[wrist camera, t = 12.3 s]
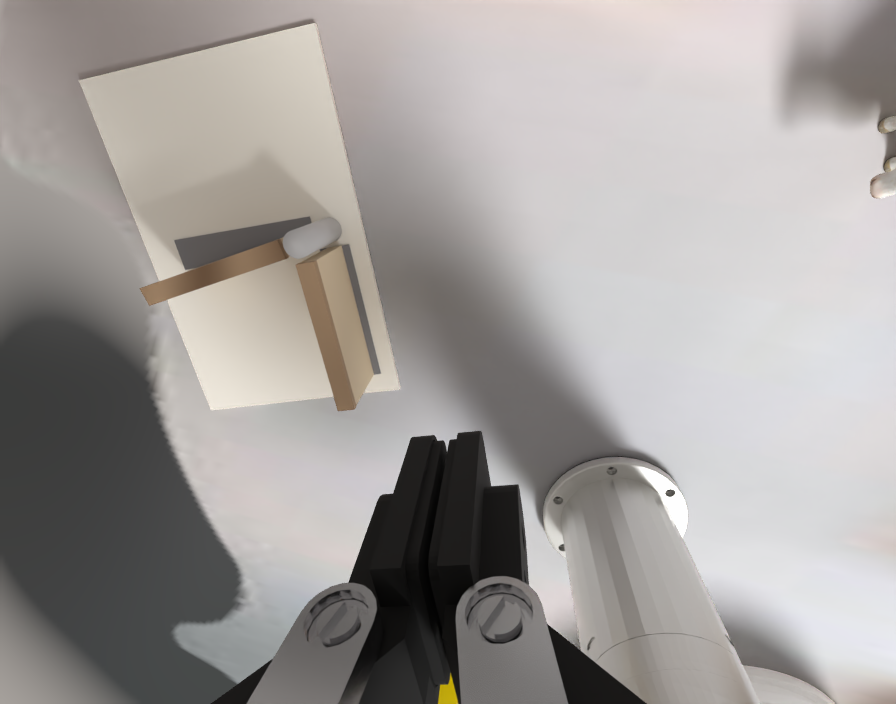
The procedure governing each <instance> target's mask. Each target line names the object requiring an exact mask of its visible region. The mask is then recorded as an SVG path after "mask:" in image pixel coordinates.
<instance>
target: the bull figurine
mask: <svg viewBox="0 0 896 704" xmlns="http://www.w3.org/2000/svg"><path fill="white" fill-rule="evenodd" d="M878 129H879V132H881V133H888V132H891V131H895V130H896V115H895V116H892V117H888V118H885V119H883V120H882V121H881V122H880V124H879V126H878ZM884 170H885V172H887V173H882V174H879V175H877V176H875V177H873V178H872V179H871V182H870V193H871V195H872V197H874V198H876V199H881V198H884V197H888V196H891V195H895V194H896V157H892V158H890V159H888V160H887V161H886V163H885V165H884Z"/></svg>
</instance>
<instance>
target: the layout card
mask: <svg viewBox="0 0 896 704" xmlns="http://www.w3.org/2000/svg"><path fill="white" fill-rule="evenodd" d="M79 82H80V85H81V87H82V90H83V92H84V95H85V97H86V100H87V102H88V105H89V107H90V110H91V112H92V115H93V117H94V120H95V122H96V125H97V127H98V130H99V132H100V135H101V137H102V140H103V142H104V145H105V147H106V150H107V152H108V155H109V157H110V160H111V162H112V165H113V167H114V170H115V172H116V175H117V177H118V180H119V182H120V185H121V187H122V190H123V192H124V195H125V197H126V200H127V202H128V205H129V207H130V210H131V212H132V215H133V217H134V220H135V222H136V224H137V227H138V229H139V232H140V234H141V237H142V239H143V242H144V244H145V247H146V249H147V252H148V254H149V257H150V259H151V262H152V264H153V267H154V269H155V272H156V274H157V277H158V279H159V281H162V280H165V279H168V278H170V277H173V276H176V275H179V274H182V273H184V272H187V271H190V270H193V269H195V268H198V267H201V266H204V265H207V264H210V263H212V262H215V261H218V260H221V259H224V258H227V257H229V256H232V255H235V254H238V253H241V252H244V251H246V250H249V249H252V248H255V247H258V246H261V245H263V244H266V243H269V242H272V241H275V240H277V239H280V238H283V237H284V238H283V247H284V249H285V251H286V253H287V254H288V255H289V258H287V259H285V260H282V261H279V262H276V263H273V264H270V265H267V266H264V267H261V268H258V269H255V270H253V271H250V272H247V273H244V274H241V275H238V276H235V277H232V278H229V279H226V280H223V281H220V282H217V283H215V284H212V285H209V286H206V287H203V288H200V289H197V290H194V291H191V292H188V293H185V294H182V295H179V296H177V297H174V298H171V299H168V300H167V302H168V304H169V307H170V309H171V312H172V314H173V317H174V319H175V322H176V324H177V327H178V329H179V332H180V334H181V337H182V339H183V342H184V344H185V347H186V349H187V352H188V354H189V357H190V359H191V362H192V364H193V367H194V369H195V372H196V374H197V377H198V379H199V382H200V384H201V387H202V389H203V392H204V394H205V397H206V399H207V402H208V404H209V407H210V409H211V410H218V409H227V408H237V407H246V406H255V405H264V404H273V403H282V402H291V401H300V400H309V399H318V398H327V397H334V400H335V403H336V406H337V410H338V411H344V410H354V409H355V408H356V405H357V403H358V402H359V400H360V398H361V396H362V395H363V394H364V393H373V392H382V391H391V390H400V388H401V386H400V382H399V377H398V373H397V369H396V364H395V360H394V356H393V352H392V347H391V343H390V339H389V334H388V330H387V326H386V321H385V317H384V313H383V308H382V304H381V300H380V295H379V291H378V287H377V282H376V278H375V274H374V269H373V265H372V261H371V256H370V252H369V248H368V243H367V239H366V235H365V230H364V226H363V222H362V217H361V213H360V209H359V204H358V200H357V196H356V191H355V187H354V183H353V179H352V174H351V170H350V166H349V161H348V157H347V153H346V148H345V144H344V140H343V135H342V131H341V127H340V122H339V118H338V114H337V109H336V105H335V101H334V96H333V92H332V88H331V83H330V79H329V75H328V70H327V66H326V62H325V57H324V53H323V49H322V44H321V40H320V36H319V31H318V27H317V24H316V23H311V24H307V25H303V26H299V27H295V28H291V29H287V30H283V31H279V32H274V33H270V34H266V35H262V36H258V37H254V38H250V39H246V40H242V41H238V42H234V43H229V44H225V45H221V46H217V47H213V48H209V49H205V50H201V51H197V52H193V53H189V54H184V55H180V56H176V57H172V58H168V59H164V60H160V61H156V62H152V63H148V64H144V65H139V66H135V67H131V68H127V69H123V70H119V71H115V72H111V73H107V74H103V75H98V76H94V77H90V78H86V79H82V80H79Z"/></svg>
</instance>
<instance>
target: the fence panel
mask: <svg viewBox="0 0 896 704" xmlns="http://www.w3.org/2000/svg"><path fill="white" fill-rule="evenodd" d="M283 238H284V237H283ZM283 238H280V239H277V240H275V241H272V242H269V243H266V244H263V245H261V246H258V247H255V248H252V249H249V250H246V251H244V252H241V253H238V254H235V255H232V256H229V257H227V258H224V259H221V260H218V261H215V262H212V263H210V264H207V265H204V266H201V267H198V268H195V269H193V270H190V271H187V272H184V273H182V274H179V275H176V276H173V277H170V278H168V279H165V280H162V281H159V282H156V283H154V284H151V285H148V286H145V287H142V288H140V290H141V292H142V294H143V295H144V297H145V299H146V301H147V302H148V304H149V306H150V305H153V304H156V303H159V302H162V301H165V300H168V299H171V298H174V297H177V296H179V295H182V294H185V293H188V292H191V291H194V290H197V289H200V288H203V287H206V286H209V285H212V284H215V283H217V282H220V281H223V280H226V279H229V278H232V277H235V276H238V275H241V274H244V273H247V272H250V271H253V270H255V269H258V268H261V267H264V266H267V265H270V264H273V263H276V262H279V261H282V260H285V259H287V258H289V255H288V254H287V253H286V251H285V249H284V247H283Z"/></svg>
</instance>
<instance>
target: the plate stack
mask: <svg viewBox="0 0 896 704" xmlns="http://www.w3.org/2000/svg"><path fill="white" fill-rule="evenodd" d="M743 667H744V669H745V671H746V673H747V675H748V677H749V679H750V682H751V684H752V686H753V688H754V690H755V692H756V694H757V696H758V698H759V700H760V703H761V704H835V703H834V702H833V701H832V700H831V699H830V698H829V697H828V696H827V695H825V694H824V693H823V692H821V691H820V690H818V689H817V688H815V687H814V686H812V685H810V684H808V683H806V682H804V681H802V680H800V679H798V678H795V677H793V676H790V675H787V674H784V673H781V672H777V671H774V670H769V669H765V668H760V667H753V666H746V665H743Z"/></svg>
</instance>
